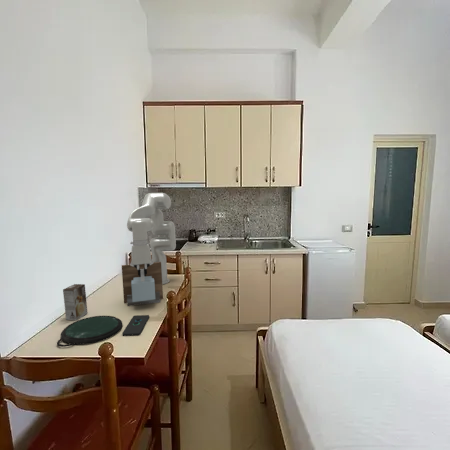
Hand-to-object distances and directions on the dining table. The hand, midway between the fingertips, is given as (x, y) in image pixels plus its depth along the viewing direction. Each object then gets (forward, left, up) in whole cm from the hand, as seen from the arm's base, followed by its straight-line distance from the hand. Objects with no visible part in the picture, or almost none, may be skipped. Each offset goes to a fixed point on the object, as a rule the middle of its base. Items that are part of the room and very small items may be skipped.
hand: (142, 275), depth 170 cm
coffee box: (+1, -34, -18) cm, 39 cm away
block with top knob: (-3, 0, -13) cm, 13 cm away
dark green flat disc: (+23, -25, -18) cm, 39 cm away
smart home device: (+23, -4, -19) cm, 30 cm away
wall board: (-8, 0, -18) cm, 20 cm away
